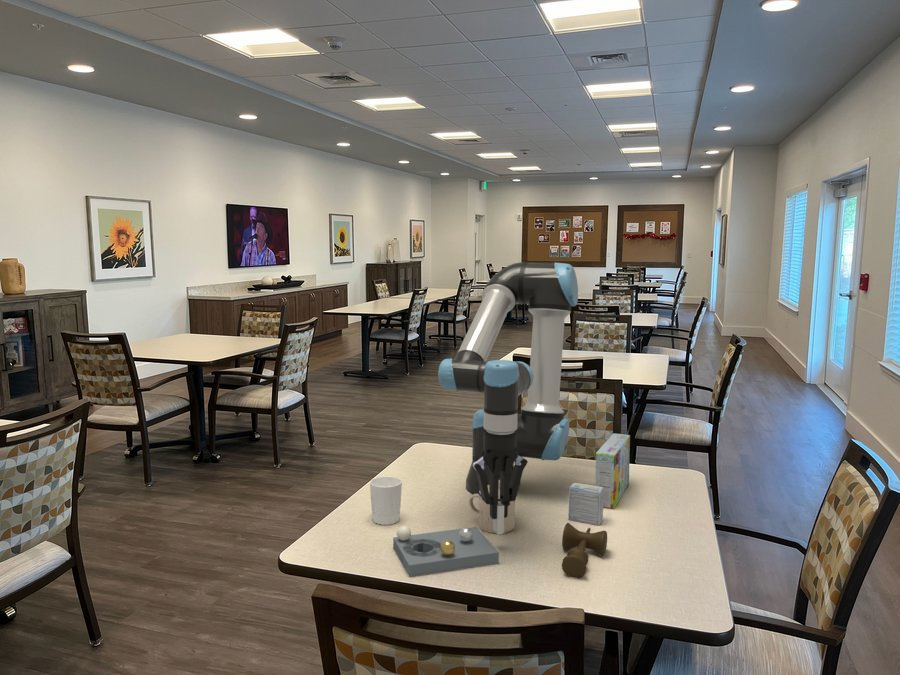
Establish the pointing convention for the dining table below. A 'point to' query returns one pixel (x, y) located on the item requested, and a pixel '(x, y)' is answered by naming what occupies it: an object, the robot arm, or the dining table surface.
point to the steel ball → (466, 534)
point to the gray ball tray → (427, 558)
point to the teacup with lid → (484, 513)
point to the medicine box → (586, 503)
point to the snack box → (613, 468)
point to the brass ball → (447, 548)
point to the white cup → (386, 499)
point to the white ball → (404, 533)
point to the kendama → (580, 549)
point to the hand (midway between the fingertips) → (498, 531)
